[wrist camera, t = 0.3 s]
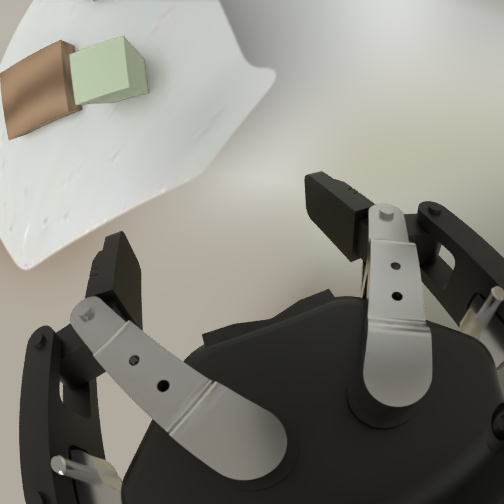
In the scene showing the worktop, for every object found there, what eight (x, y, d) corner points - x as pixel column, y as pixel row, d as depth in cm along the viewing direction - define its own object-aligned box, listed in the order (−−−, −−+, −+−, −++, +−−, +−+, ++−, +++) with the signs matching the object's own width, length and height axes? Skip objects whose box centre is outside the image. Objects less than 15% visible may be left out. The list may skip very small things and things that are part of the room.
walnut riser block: (17, 74, 21) (-1, 73, 17) (74, 45, 22) (60, 39, 18) (25, 134, 26) (8, 140, 22) (82, 109, 28) (68, 111, 24)
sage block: (107, 69, 26) (69, 54, 14) (144, 58, 27) (123, 35, 15) (112, 102, 29) (75, 105, 17) (148, 92, 29) (129, 87, 18)
